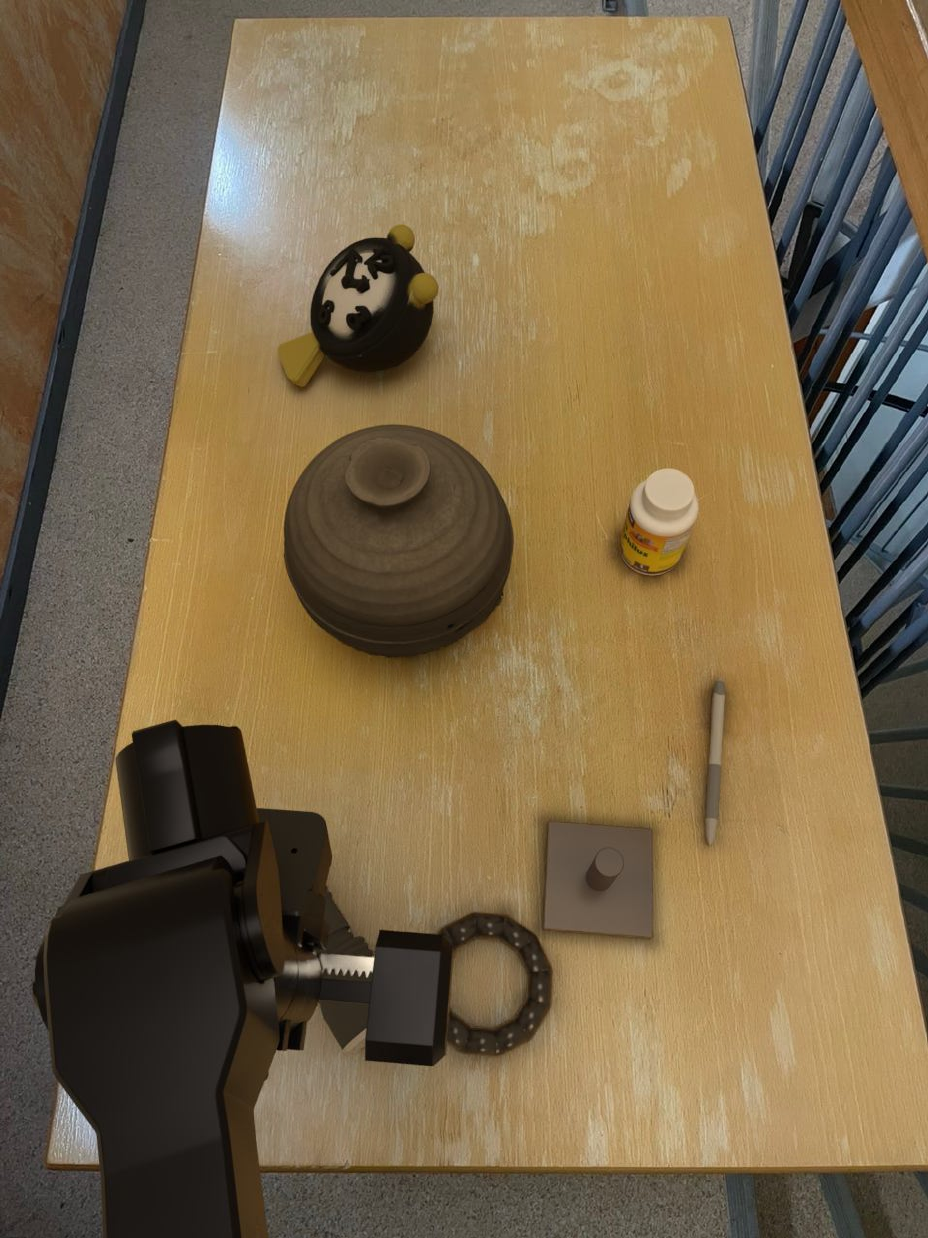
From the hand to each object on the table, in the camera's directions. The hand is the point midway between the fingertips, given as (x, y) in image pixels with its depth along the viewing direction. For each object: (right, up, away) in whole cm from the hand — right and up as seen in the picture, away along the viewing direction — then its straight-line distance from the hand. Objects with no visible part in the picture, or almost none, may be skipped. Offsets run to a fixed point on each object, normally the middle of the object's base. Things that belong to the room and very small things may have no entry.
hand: (300, 994), depth 55 cm
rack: (+20, +3, +15) cm, 25 cm away
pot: (+5, +24, +26) cm, 36 cm away
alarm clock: (0, +49, +37) cm, 62 cm away
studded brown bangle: (+11, -4, +11) cm, 17 cm away
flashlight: (0, -2, +14) cm, 14 cm away
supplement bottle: (+26, +28, +27) cm, 47 cm away
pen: (+30, +11, +19) cm, 37 cm away
